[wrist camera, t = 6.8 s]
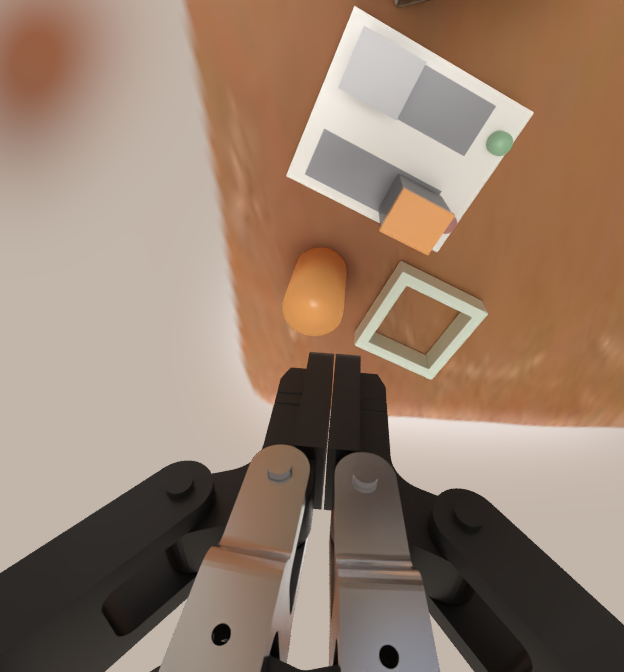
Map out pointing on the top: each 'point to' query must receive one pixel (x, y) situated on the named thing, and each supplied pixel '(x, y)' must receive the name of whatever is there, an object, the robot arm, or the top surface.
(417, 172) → the box
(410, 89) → the block
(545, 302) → the top surface
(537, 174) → the top surface
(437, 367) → the pale green square frame
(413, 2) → the coffee box
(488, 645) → the robot arm
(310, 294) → the cap
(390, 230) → the tagged breaker
